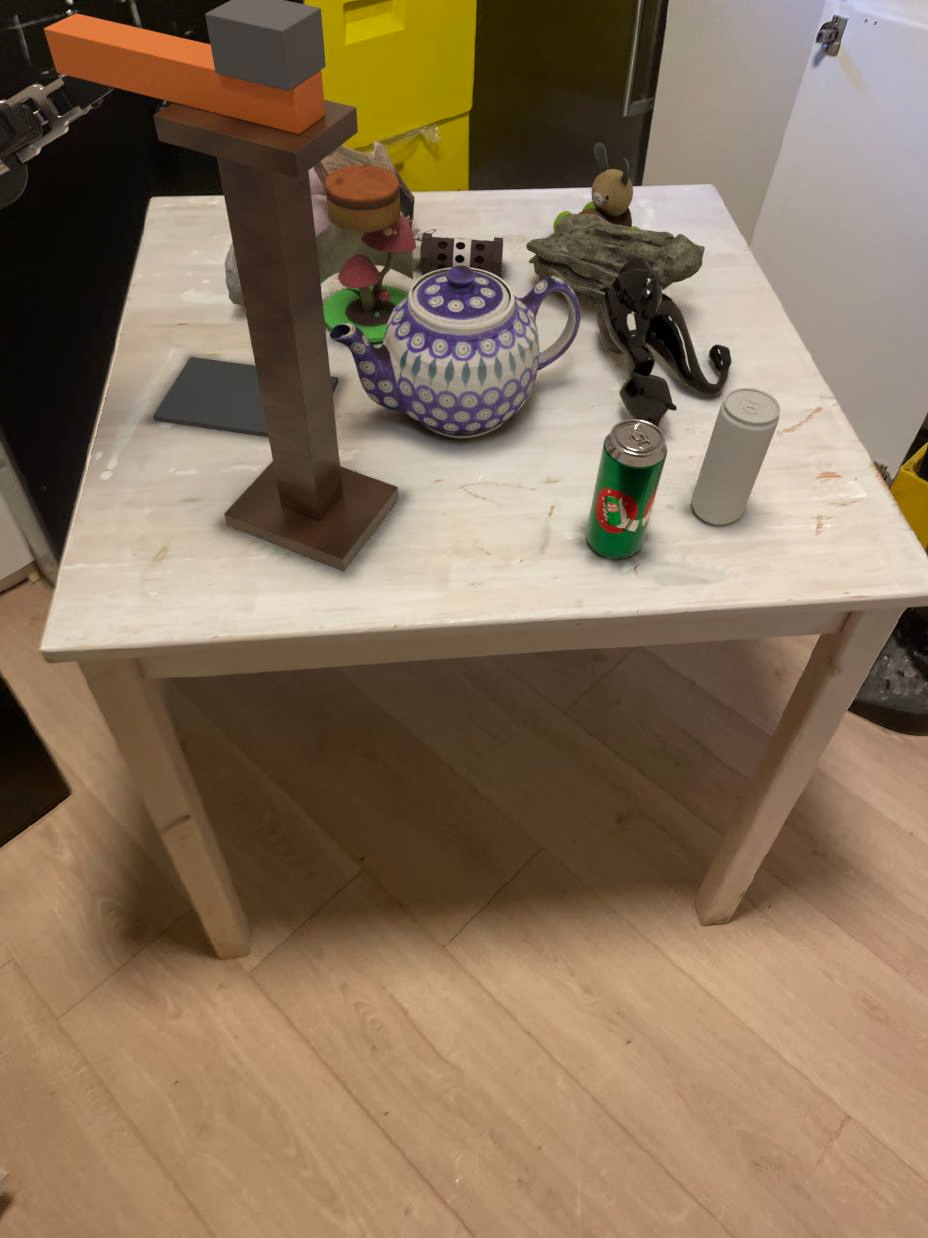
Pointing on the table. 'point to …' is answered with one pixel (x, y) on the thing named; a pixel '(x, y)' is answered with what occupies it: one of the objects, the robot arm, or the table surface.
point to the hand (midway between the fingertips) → (60, 95)
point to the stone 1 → (233, 278)
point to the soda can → (626, 488)
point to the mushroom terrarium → (364, 247)
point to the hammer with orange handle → (210, 61)
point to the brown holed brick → (458, 253)
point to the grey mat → (217, 397)
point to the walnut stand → (286, 330)
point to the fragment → (376, 158)
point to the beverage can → (735, 454)
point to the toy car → (609, 193)
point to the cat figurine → (652, 342)
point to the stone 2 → (609, 254)
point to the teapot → (459, 350)
